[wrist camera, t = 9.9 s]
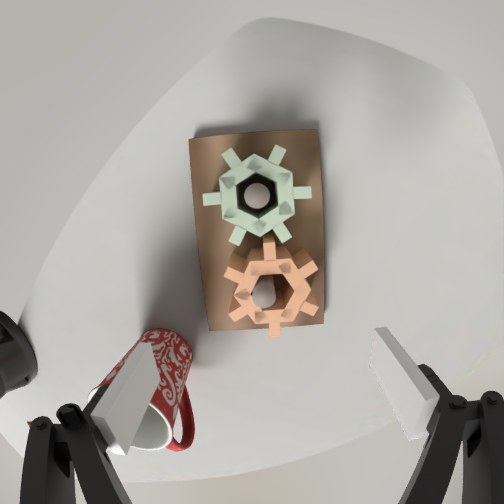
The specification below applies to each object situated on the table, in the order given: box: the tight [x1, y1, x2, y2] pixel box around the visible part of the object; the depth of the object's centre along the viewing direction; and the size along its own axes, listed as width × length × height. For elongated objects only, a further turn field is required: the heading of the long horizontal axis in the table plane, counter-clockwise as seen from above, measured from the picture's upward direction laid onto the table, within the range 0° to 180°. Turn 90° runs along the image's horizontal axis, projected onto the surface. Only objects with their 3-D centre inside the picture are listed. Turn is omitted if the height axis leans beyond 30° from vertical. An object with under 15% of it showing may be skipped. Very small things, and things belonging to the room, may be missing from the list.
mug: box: [87, 328, 195, 451], centre depth 28 cm, size 13×9×14 cm
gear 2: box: [223, 232, 319, 337], centre depth 28 cm, size 9×8×5 cm
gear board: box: [189, 130, 324, 331], centre depth 27 cm, size 13×21×8 cm, turn 4°
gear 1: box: [203, 145, 312, 246], centre depth 26 cm, size 9×8×5 cm
